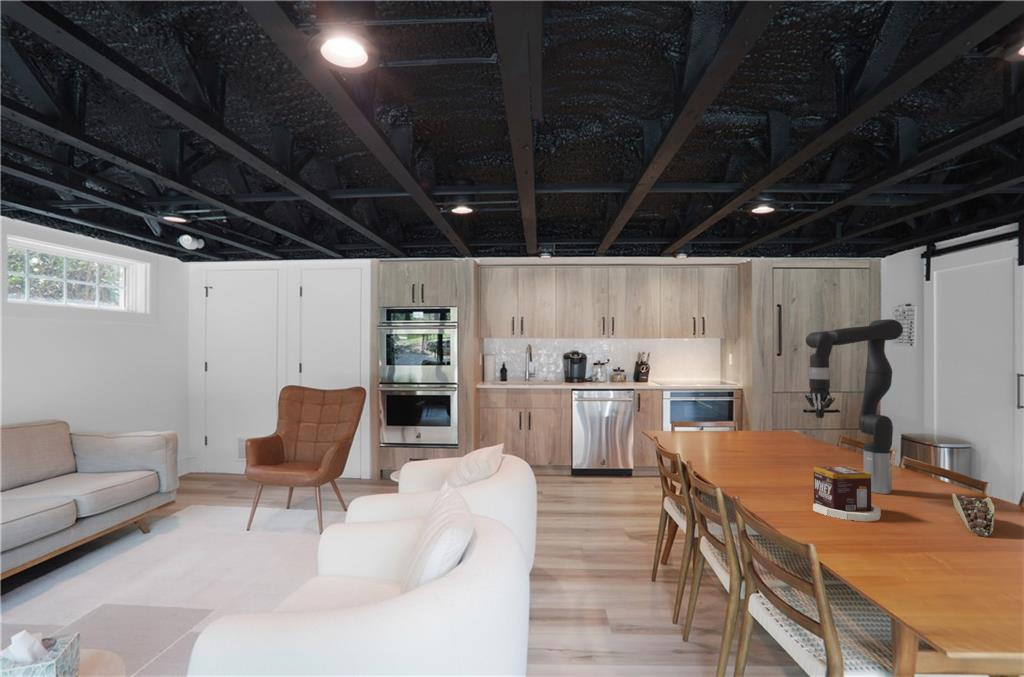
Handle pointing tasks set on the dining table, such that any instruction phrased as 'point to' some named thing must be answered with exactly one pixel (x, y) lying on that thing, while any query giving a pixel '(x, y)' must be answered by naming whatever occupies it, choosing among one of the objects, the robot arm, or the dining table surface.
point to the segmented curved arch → (849, 513)
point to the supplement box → (842, 489)
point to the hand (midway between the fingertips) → (819, 417)
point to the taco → (976, 514)
